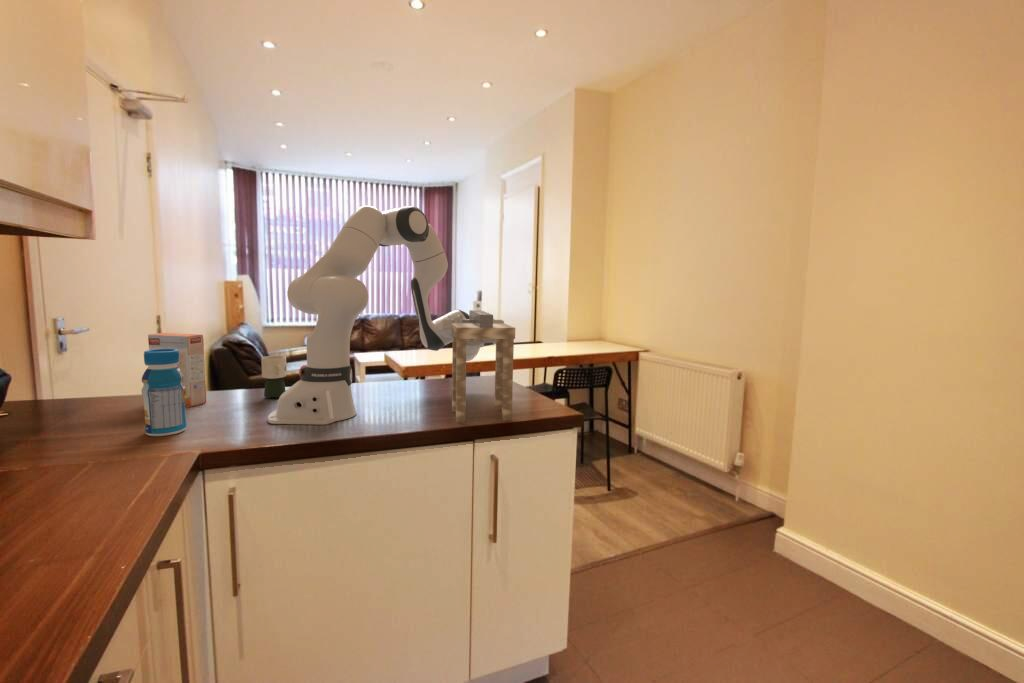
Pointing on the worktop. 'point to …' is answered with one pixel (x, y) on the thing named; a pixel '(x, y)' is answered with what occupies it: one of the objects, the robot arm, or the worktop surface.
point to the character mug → (274, 375)
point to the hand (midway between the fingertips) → (475, 317)
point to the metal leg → (481, 318)
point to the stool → (502, 368)
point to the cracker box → (186, 362)
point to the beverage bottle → (163, 393)
